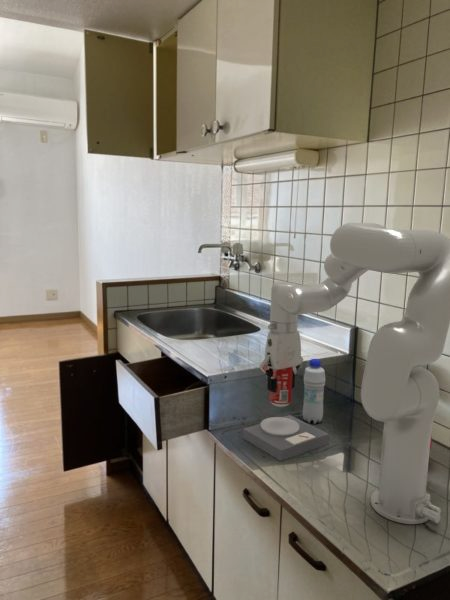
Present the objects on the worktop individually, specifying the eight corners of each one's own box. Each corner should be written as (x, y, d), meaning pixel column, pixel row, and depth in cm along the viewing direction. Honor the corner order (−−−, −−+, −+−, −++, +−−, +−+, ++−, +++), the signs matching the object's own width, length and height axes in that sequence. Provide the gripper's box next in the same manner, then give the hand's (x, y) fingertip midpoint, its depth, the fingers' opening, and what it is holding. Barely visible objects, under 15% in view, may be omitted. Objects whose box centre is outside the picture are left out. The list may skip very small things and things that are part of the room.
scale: (328, 443, 134) (329, 430, 134) (280, 461, 124) (281, 446, 123) (289, 424, 147) (289, 411, 146) (243, 438, 137) (243, 425, 136)
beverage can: (290, 400, 139) (292, 360, 137) (291, 408, 133) (293, 366, 131) (269, 399, 139) (270, 359, 137) (268, 407, 133) (270, 365, 131)
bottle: (317, 426, 145) (320, 363, 142) (297, 421, 149) (300, 359, 146) (326, 420, 151) (330, 358, 148) (307, 414, 155) (310, 354, 152)
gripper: (268, 333, 124) (266, 399, 127) (315, 326, 134) (312, 387, 137) (250, 327, 130) (248, 390, 133) (296, 321, 140) (293, 379, 143)
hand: (280, 388), depth 135 cm, fingers closed on beverage can, 6 cm apart
